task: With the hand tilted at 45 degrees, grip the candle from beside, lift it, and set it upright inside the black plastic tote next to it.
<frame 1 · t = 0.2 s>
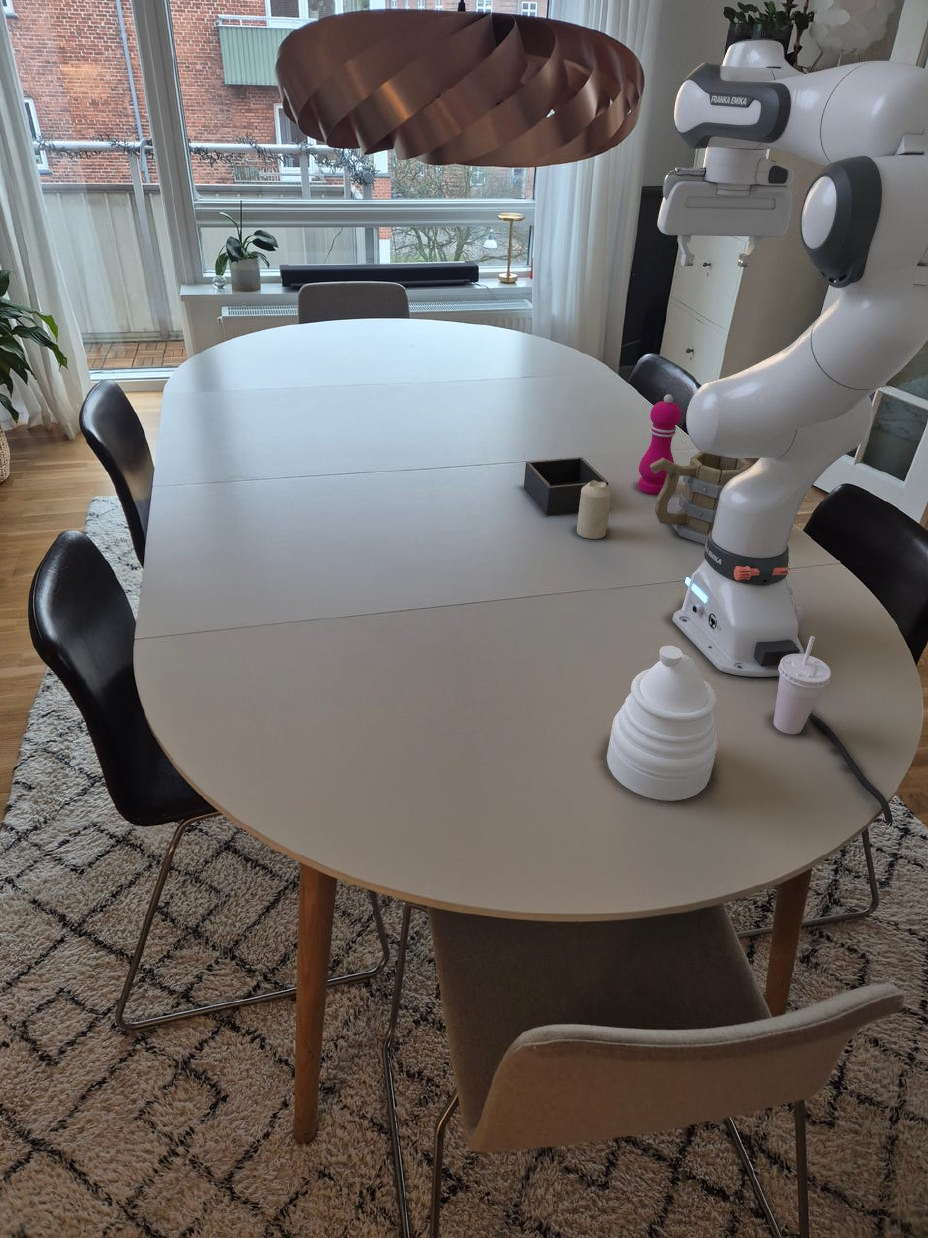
hand: (715, 265, 138), 47 cm above the table, tool pointing down, fingers open, 8 cm apart
smoothie: (787, 726, 117), on the table
tote: (563, 498, 175), on the table
honey pot: (657, 765, 109), on the table
tankard: (688, 531, 165), on the table
candle: (591, 533, 162), on the table
pepper mill: (653, 489, 180), on the table
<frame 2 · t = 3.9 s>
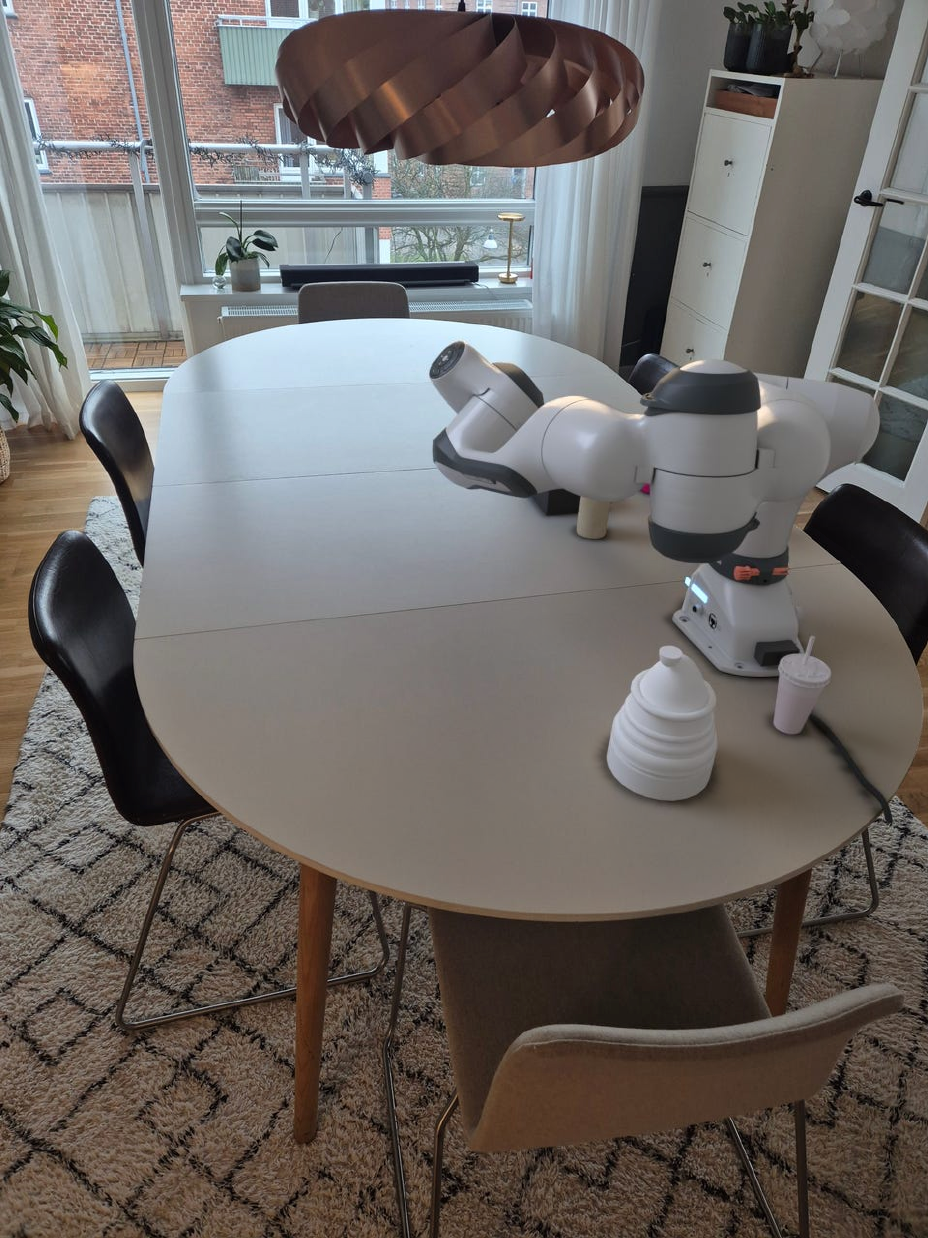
hand: (545, 466, 148), 16 cm above the table, tool tilted 45°, fingers open, 8 cm apart
nothing on the table moved.
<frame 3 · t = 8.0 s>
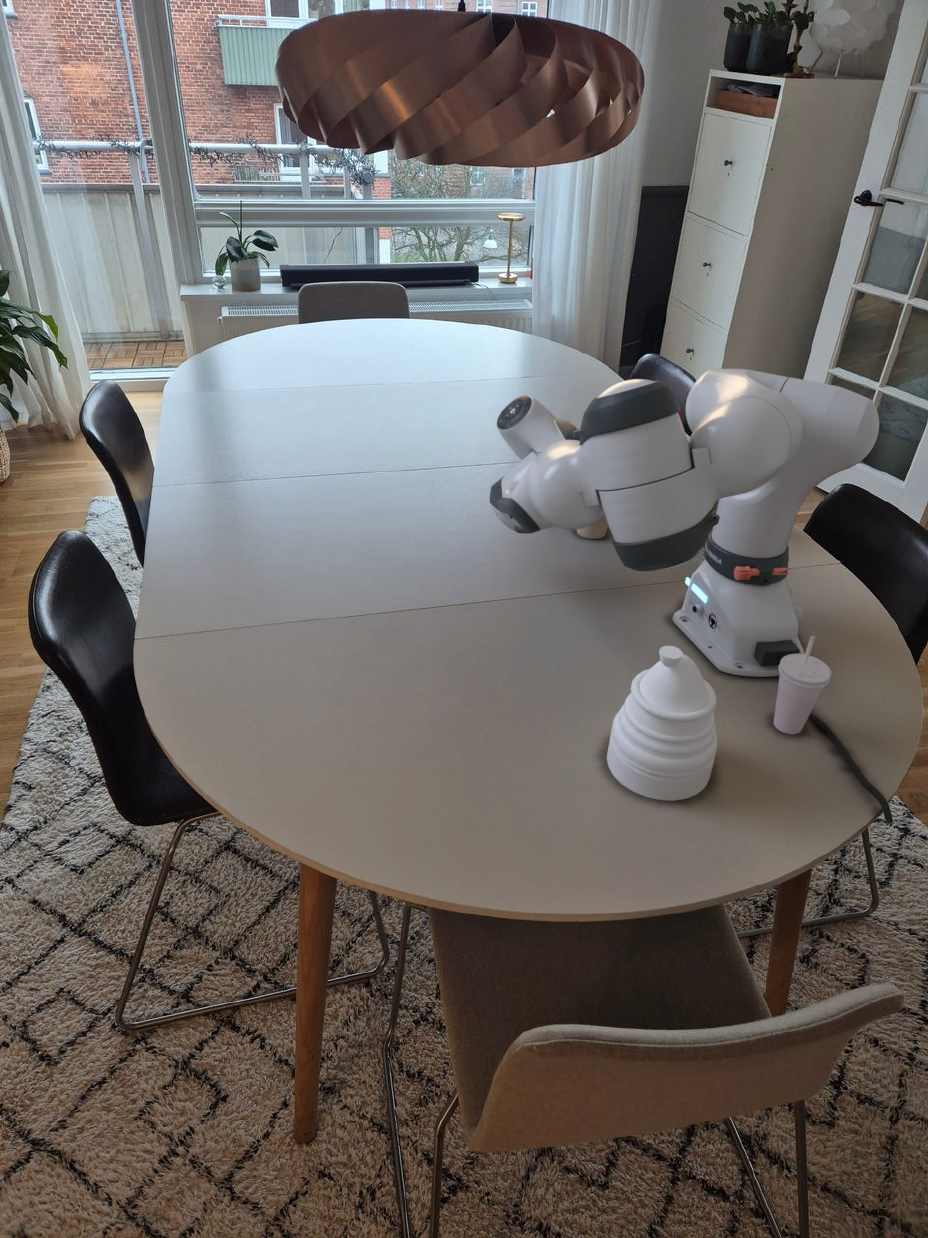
hand: (597, 503, 159), 6 cm above the table, tool tilted 45°, fingers closed on candle, 5 cm apart
candle: (591, 533, 162), on the table, touching gripper
everything else where it was.
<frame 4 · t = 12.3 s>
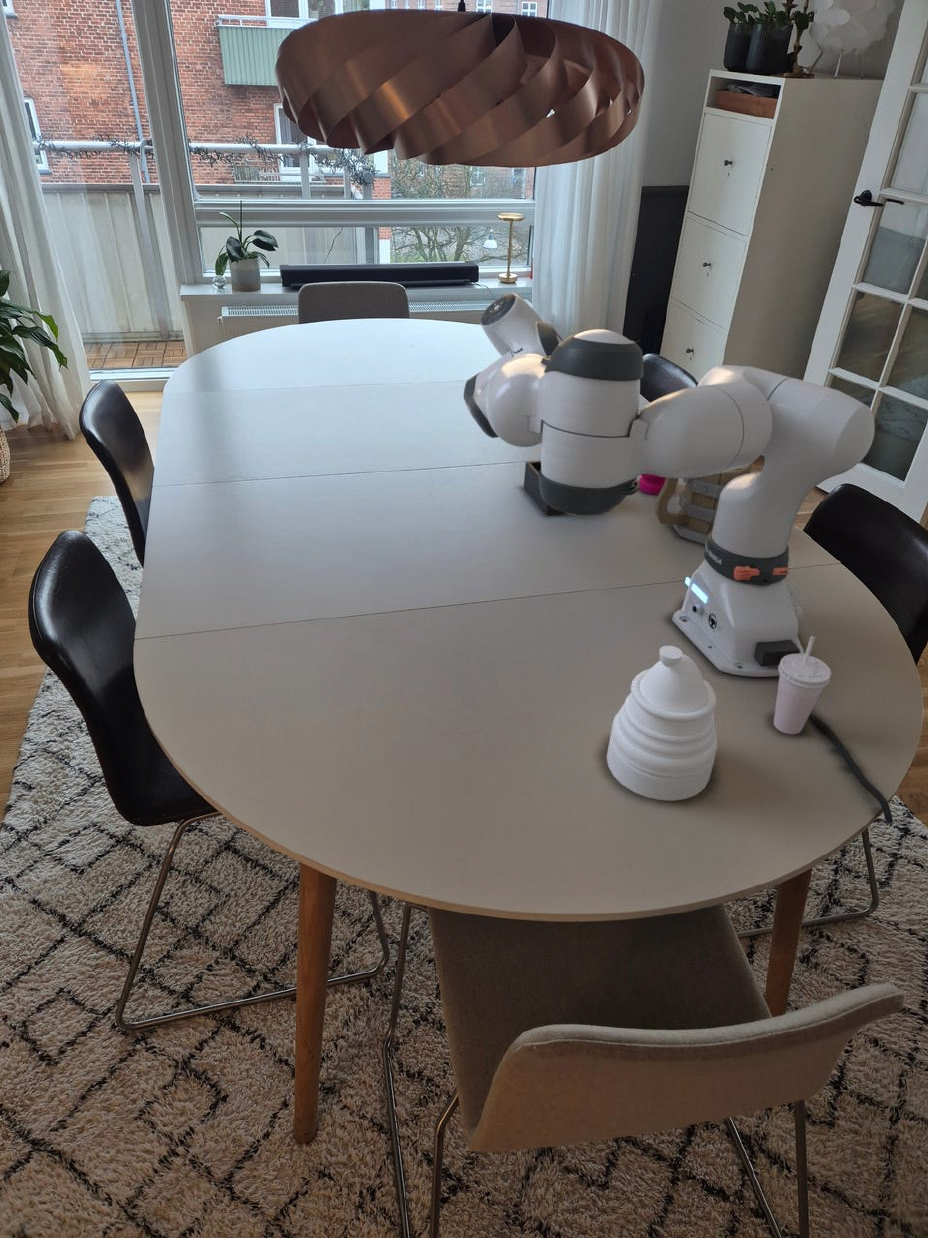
hand: (582, 412, 161), 19 cm above the table, tool tilted 45°, fingers closed on candle, 5 cm apart
candle: (576, 444, 164), point 13 cm above the table, touching gripper
everything else where it was.
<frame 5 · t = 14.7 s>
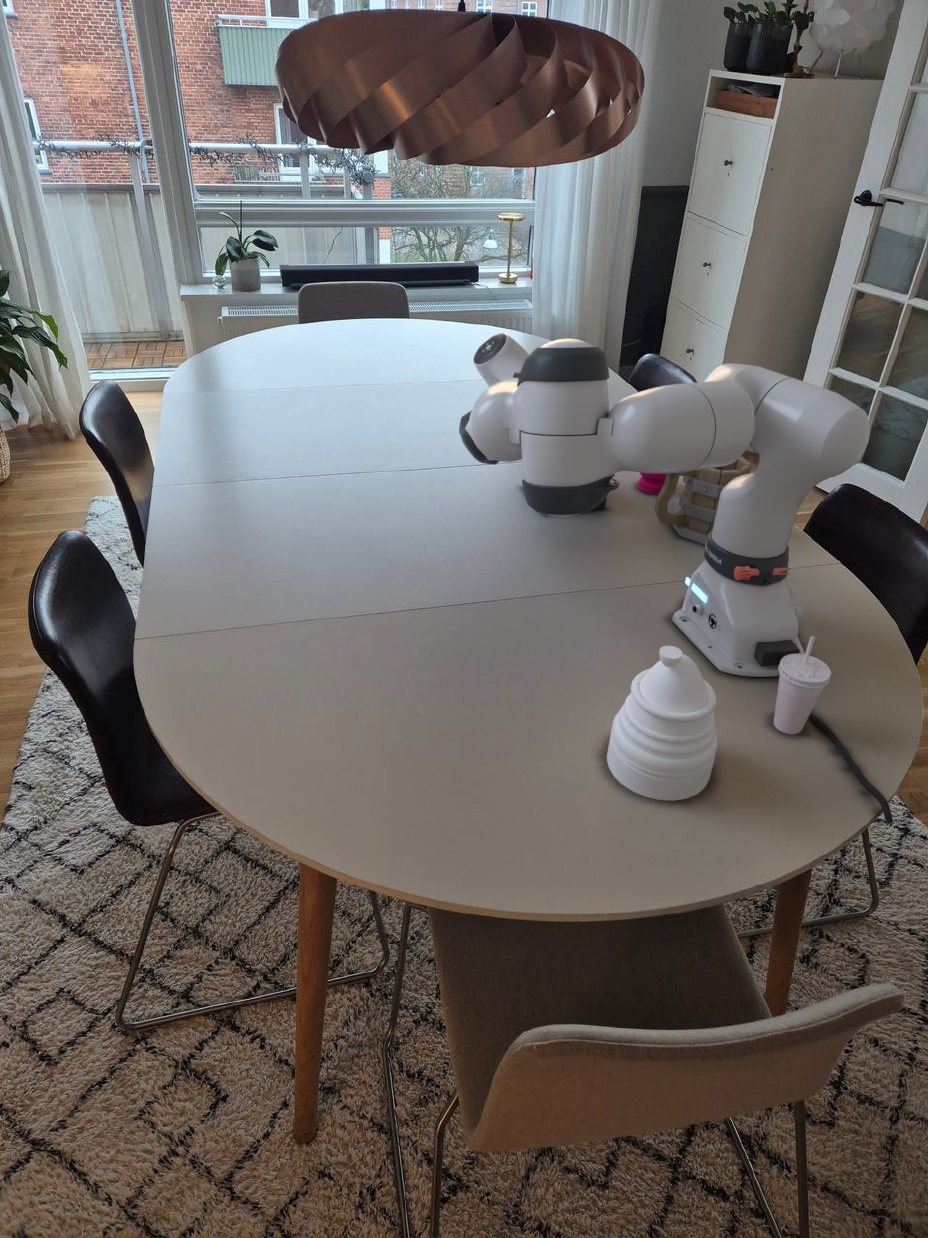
hand: (571, 443, 168), 12 cm above the table, tool tilted 45°, fingers closed on candle, 5 cm apart
candle: (565, 472, 171), point 6 cm above the table, touching gripper
everything else where it was.
when the fingers open (7 cm above the table, at t = 16.6 s): candle stays where it is, resting on tote.
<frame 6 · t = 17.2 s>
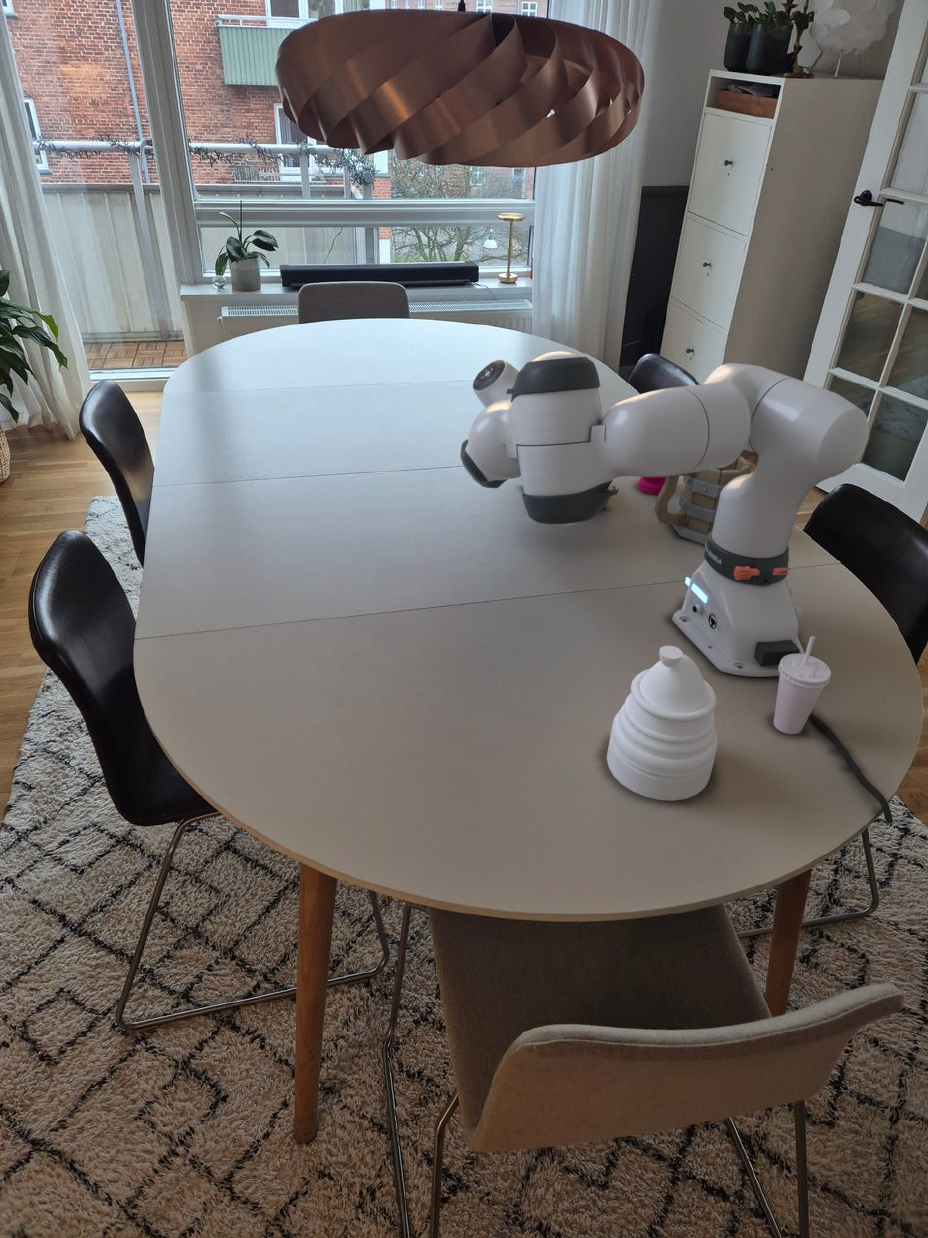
hand: (569, 464, 171), 7 cm above the table, tool tilted 45°, fingers open, 8 cm apart
candle: (563, 495, 174), point 1 cm above the table, touching tote
everything else where it was.
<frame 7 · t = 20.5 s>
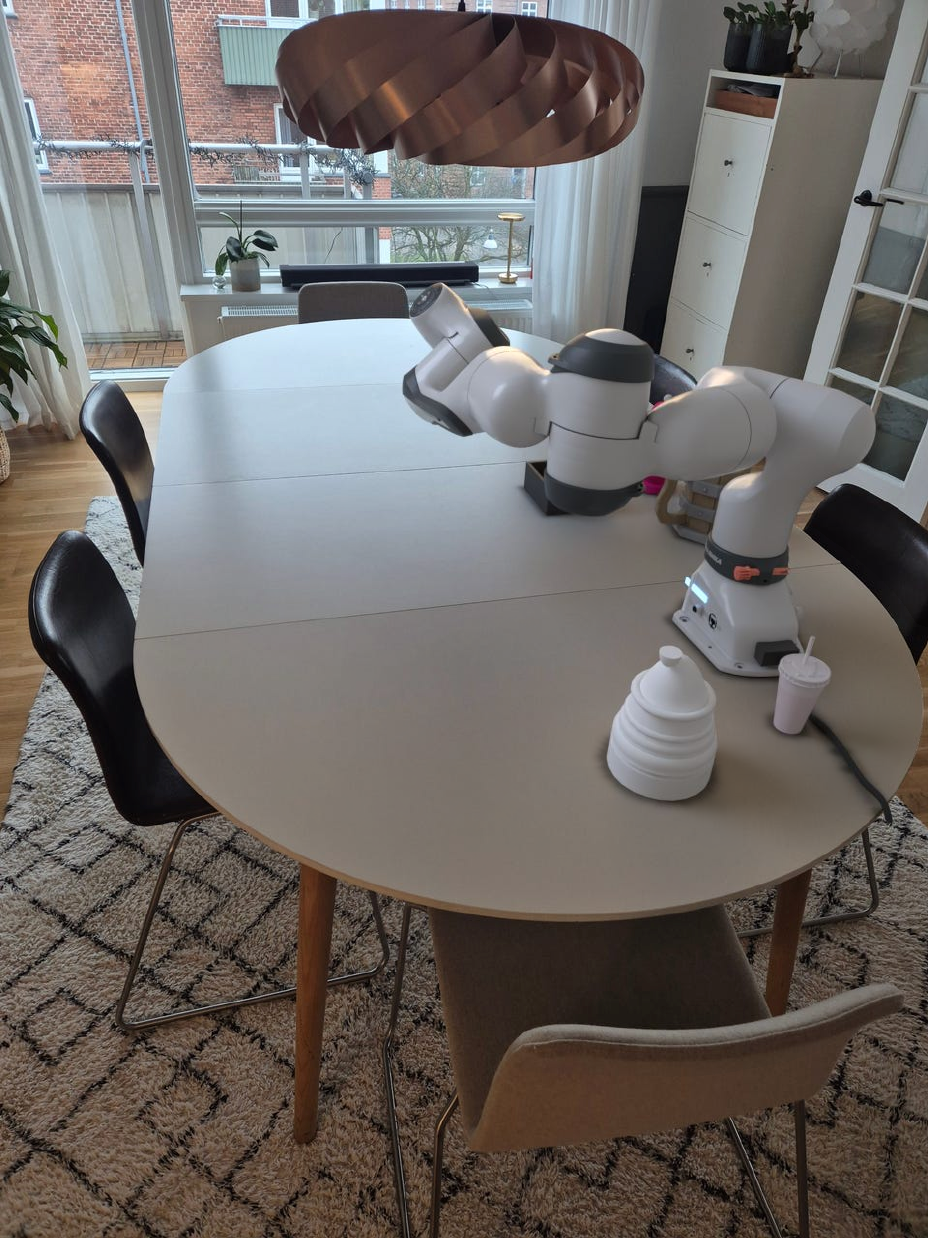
hand: (522, 407, 157), 21 cm above the table, tool tilted 45°, fingers open, 8 cm apart
nothing on the table moved.
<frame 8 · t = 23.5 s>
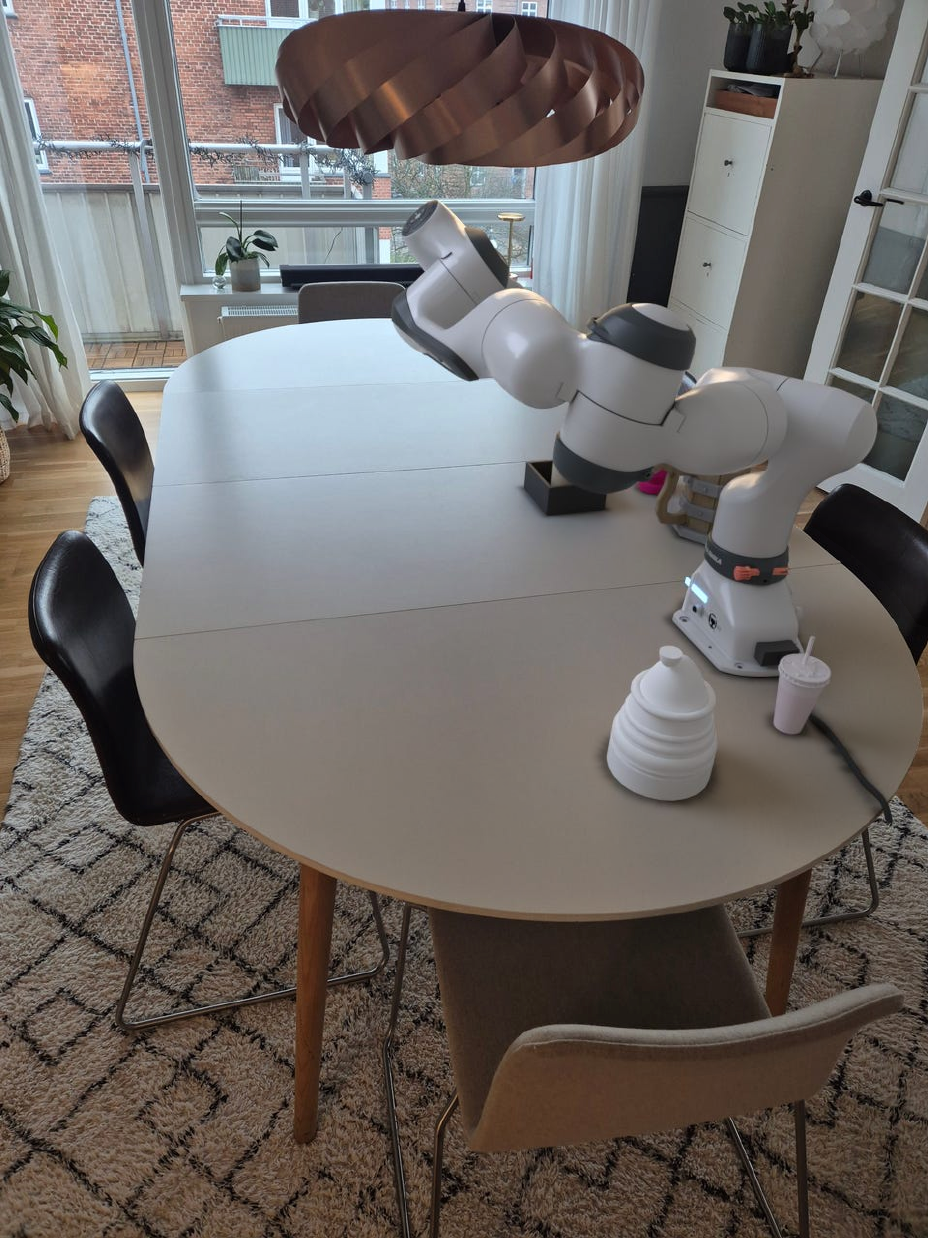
hand: (523, 344, 147), 33 cm above the table, tool tilted 45°, fingers open, 8 cm apart
nothing on the table moved.
at the end: candle inside the target area in the tote (0.1 cm from its centre), point 0.6 cm above the tote's base; candle tilted 0°; the gripper is holding nothing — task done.
